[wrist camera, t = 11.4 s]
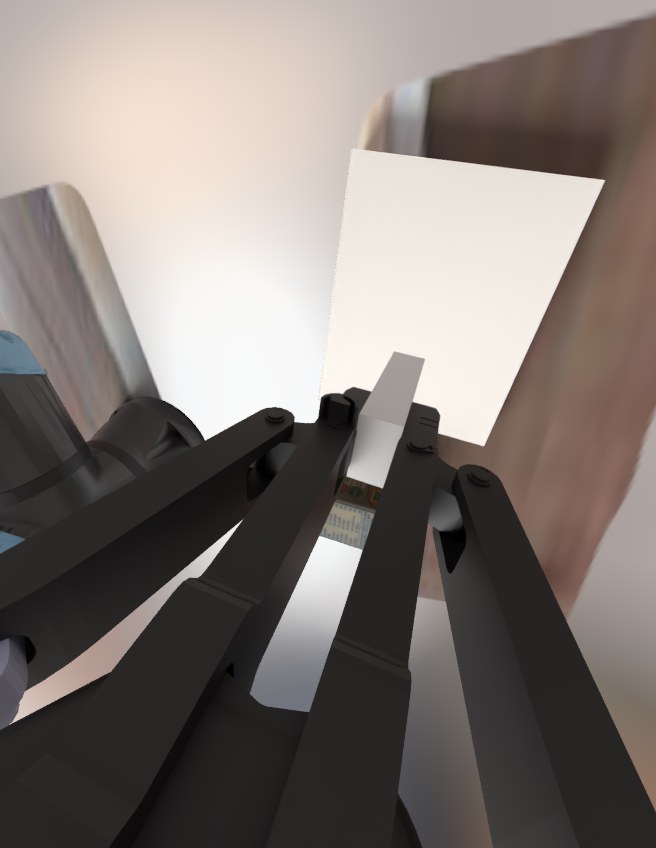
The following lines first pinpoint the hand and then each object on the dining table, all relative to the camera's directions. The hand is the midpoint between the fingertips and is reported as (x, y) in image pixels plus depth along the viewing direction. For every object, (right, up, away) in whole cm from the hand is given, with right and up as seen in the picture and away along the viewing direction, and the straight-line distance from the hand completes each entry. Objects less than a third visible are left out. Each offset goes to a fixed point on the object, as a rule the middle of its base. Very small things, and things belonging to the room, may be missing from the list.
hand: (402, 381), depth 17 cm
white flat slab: (+5, +8, +13) cm, 16 cm away
